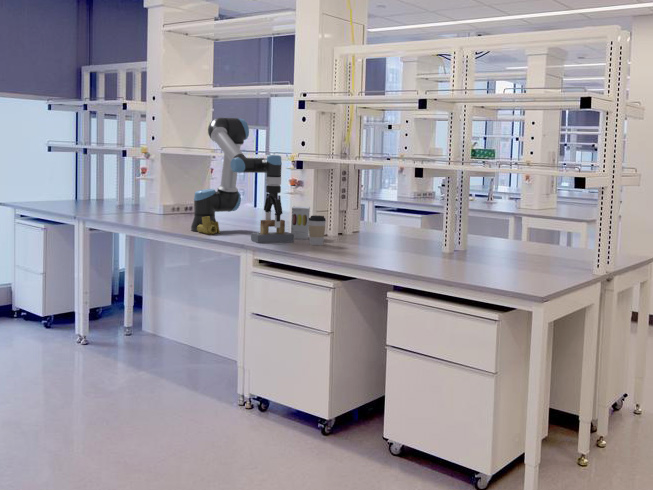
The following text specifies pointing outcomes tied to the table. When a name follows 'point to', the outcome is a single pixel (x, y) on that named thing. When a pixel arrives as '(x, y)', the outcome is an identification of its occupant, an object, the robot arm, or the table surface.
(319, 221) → the coffee cup
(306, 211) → the supplement box
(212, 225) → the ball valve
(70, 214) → the table surface
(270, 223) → the clip
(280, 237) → the grey tray
